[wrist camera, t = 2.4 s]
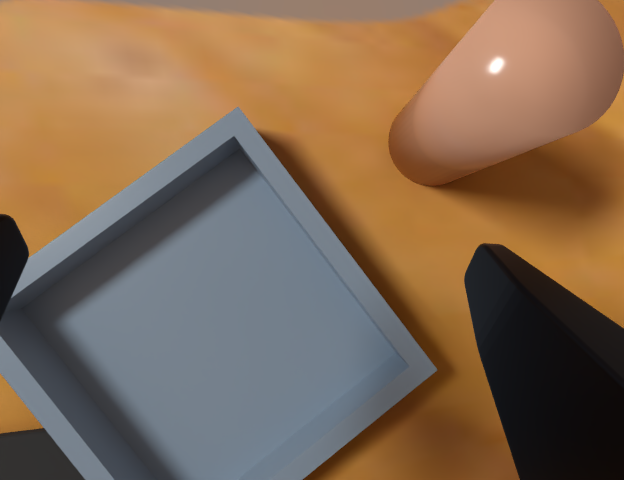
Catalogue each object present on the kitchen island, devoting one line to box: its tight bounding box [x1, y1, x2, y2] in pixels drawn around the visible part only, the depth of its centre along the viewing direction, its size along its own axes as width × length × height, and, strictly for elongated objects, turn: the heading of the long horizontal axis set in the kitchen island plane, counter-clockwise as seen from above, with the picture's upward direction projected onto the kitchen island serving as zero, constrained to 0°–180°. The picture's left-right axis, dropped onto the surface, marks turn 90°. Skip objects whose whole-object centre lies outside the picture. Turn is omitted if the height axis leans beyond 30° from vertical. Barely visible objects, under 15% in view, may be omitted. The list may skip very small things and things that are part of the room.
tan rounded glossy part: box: [388, 0, 624, 186], centre depth 17 cm, size 5×5×10 cm
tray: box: [0, 107, 437, 480], centre depth 20 cm, size 16×16×3 cm
